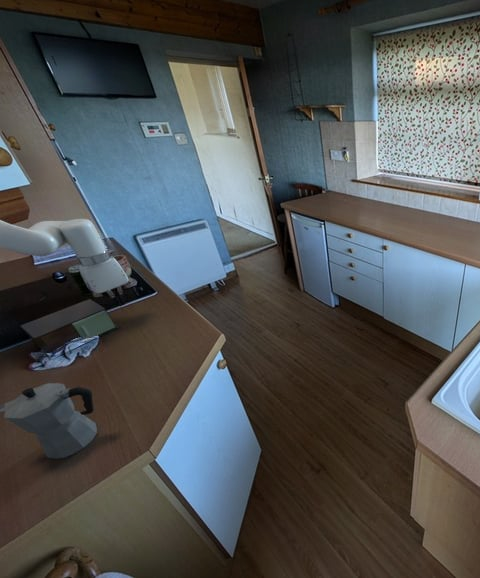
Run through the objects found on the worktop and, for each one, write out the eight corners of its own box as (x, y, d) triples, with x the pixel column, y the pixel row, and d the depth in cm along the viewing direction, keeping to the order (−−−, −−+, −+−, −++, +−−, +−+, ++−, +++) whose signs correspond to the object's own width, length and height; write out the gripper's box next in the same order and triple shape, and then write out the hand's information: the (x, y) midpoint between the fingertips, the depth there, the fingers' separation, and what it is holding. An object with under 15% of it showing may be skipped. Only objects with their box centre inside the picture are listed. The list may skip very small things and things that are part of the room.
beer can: (100, 287, 129) (86, 263, 122) (98, 293, 125) (83, 268, 119) (84, 291, 126) (69, 266, 120) (82, 296, 122) (66, 271, 116)
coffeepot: (25, 470, 64) (-35, 419, 55) (49, 432, 72) (-1, 382, 62) (111, 445, 69) (69, 395, 60) (125, 412, 76) (89, 363, 67)
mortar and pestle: (106, 295, 124) (81, 251, 113) (105, 286, 129) (81, 245, 119) (139, 286, 130) (118, 244, 120) (137, 278, 136) (117, 238, 125)
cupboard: (52, 359, 92) (36, 340, 88) (35, 344, 98) (20, 325, 94) (119, 328, 105) (108, 310, 101) (100, 316, 111) (89, 298, 107)
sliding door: (85, 341, 98) (73, 325, 94) (82, 340, 98) (71, 323, 95) (116, 327, 104) (106, 311, 101) (113, 325, 105) (104, 310, 101)
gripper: (116, 247, 102) (139, 291, 111) (59, 264, 91) (90, 311, 100) (127, 252, 99) (149, 297, 108) (70, 269, 88) (100, 318, 97)
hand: (121, 304), depth 104 cm, fingers closed
